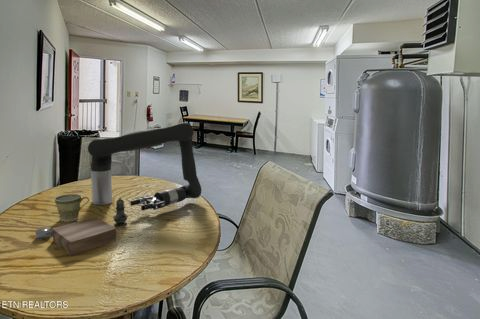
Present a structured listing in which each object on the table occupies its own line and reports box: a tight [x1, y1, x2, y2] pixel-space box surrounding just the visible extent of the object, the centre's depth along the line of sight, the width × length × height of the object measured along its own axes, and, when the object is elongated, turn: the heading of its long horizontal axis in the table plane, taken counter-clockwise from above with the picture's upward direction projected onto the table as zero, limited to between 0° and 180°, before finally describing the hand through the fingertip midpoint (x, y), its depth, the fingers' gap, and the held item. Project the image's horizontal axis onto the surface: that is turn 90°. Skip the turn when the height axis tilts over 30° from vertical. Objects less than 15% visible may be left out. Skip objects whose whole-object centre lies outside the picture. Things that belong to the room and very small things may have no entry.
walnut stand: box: [51, 216, 118, 257], centre depth 112 cm, size 16×16×5 cm
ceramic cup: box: [54, 193, 90, 223], centre depth 131 cm, size 13×10×10 cm
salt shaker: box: [112, 197, 129, 228], centre depth 127 cm, size 6×6×12 cm
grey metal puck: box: [35, 226, 53, 240], centre depth 114 cm, size 5×5×3 cm
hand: (136, 205), depth 133 cm, fingers open, 8 cm apart
